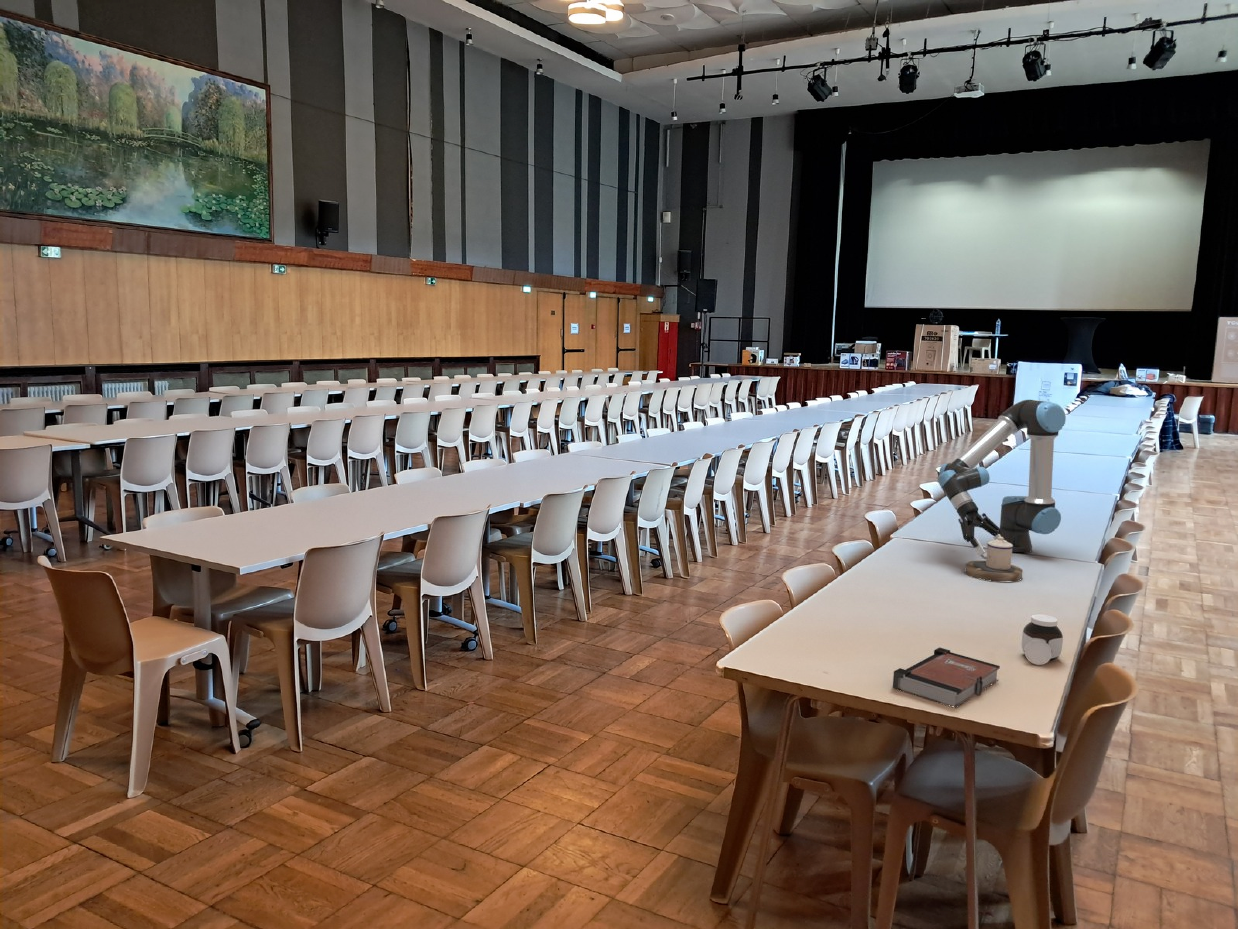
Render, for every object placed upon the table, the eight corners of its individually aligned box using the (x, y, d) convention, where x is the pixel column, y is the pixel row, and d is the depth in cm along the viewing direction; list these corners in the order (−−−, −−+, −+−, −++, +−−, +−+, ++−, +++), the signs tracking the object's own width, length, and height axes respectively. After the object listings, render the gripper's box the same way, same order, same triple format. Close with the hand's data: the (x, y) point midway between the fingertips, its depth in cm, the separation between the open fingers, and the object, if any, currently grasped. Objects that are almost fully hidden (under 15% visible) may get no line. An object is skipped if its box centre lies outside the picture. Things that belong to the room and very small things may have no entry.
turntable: (988, 565, 358) (988, 557, 357) (1033, 578, 341) (1034, 569, 340) (954, 571, 348) (954, 563, 347) (998, 585, 331) (999, 576, 330)
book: (958, 711, 221) (959, 691, 220) (892, 689, 233) (893, 671, 232) (1000, 683, 239) (1002, 665, 238) (938, 664, 251) (939, 647, 250)
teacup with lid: (1013, 566, 344) (1016, 536, 342) (1008, 571, 337) (1011, 541, 335) (980, 561, 351) (983, 532, 349) (974, 566, 344) (977, 536, 342)
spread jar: (1050, 652, 262) (1054, 614, 260) (1071, 667, 251) (1075, 627, 249) (1010, 652, 261) (1013, 613, 259) (1029, 666, 250) (1033, 626, 248)
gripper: (979, 508, 363) (1008, 553, 352) (937, 513, 350) (966, 560, 340) (991, 498, 357) (1021, 543, 347) (949, 503, 345) (979, 550, 334)
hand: (994, 552), depth 343 cm, fingers open, 13 cm apart
